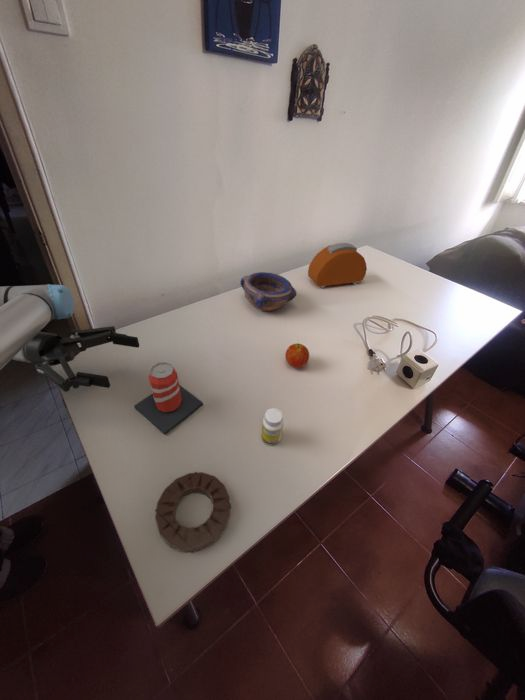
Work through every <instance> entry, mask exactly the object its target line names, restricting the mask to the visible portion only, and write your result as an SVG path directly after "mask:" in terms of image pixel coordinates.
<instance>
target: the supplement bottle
mask: <svg viewBox="0 0 525 700" xmlns="http://www.w3.org/2000/svg"><path fill="white" fill-rule="evenodd" d="M283 417H284V415H283V412H282V411H281V410H280V409H279V408H276V407H272V408H269V409H267V410H266V411H265V412H264V417H263V419H262V422H261V423H262V424H261V435H260V437H261V440H262V441H263V442H264V444H266V445H268V446H276V445H278V444H279V443H280V442H281V439H282V435H283V430H284V429H283V428H284V419H283Z"/></svg>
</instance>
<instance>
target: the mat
mask: <svg viewBox="0 0 525 700" xmlns="http://www.w3.org/2000/svg"><path fill="white" fill-rule="evenodd" d="M179 387H180V393H181V399H182V401H181V404H180V407H178V408H177V409H175V410H174V411H171V412H162V411H160V410H158V409H157V407H156V404H155V401H154V397H153V393H151V394H149V395H148V396H146V397H145V398H143V399H142V400H140V401H139V402H137V403H136V404H134V405H133V407H134V410H136V411H138V413H140V414H141V416H143V417H144V418H145V419H146V420H147V421H149V422H150V424H152V425H153V426H154V427H155V428H156V429H157V430H159V431H160V432H161V433H162V434H163V435H165V436H166V435H167V434H169V433H170V432H171V431H173V429H175V428H176V427H177V426H179V425H180V424H181V423H182V422H184V421H185V420H187V419H188V418H189V417H190V416H191V415H193V414H195V413H196V411H198V410H199V409H200V408H202V407H203V406H204V402H203V401H202V400H200V399H199V398H197V396H195V395H194V394H192V393H191V392H190V391H188V390H187V389H185V388H184V387H183V386H181V385H180V384H179Z"/></svg>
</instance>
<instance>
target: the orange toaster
mask: <svg viewBox="0 0 525 700" xmlns="http://www.w3.org/2000/svg"><path fill="white" fill-rule="evenodd" d="M357 250H358V247H356V246H354V244H351V243H347V242H338V243H335V244H331V245H328V246H325V248H322V249H321V250H319V252H317V253H316V254H315V255H314V257H312V259H311V261H310V264H309V265H308V269H307V276H308V277H309V279H310V280H311V281H312V282H313V283H314V284H315V285H316V286H317V287H319V288H321V289H325V287H329V286H337V285H344V284H345V285H346V284H352V285H357V283H360V282H362V281H363V280H364V278H365V277H366V275H367V269H368V268H367V263H366V262H367V261H366V259H365V257H364V256H363V255H362V254H360V253H359V252H358V251H357Z"/></svg>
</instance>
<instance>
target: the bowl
mask: <svg viewBox="0 0 525 700" xmlns="http://www.w3.org/2000/svg"><path fill="white" fill-rule="evenodd" d="M240 286H241V288H242V290H243V292H244V297H245V299H246V300H247V302H248V303H249V304H250V305H251V306H253V307H254V308H255V309H257V310H259V311H262V312H271V311H275V310H278V309H280V308H281V307H283V306H284V305H285V304H287V303H289V302H291V301H292V300H293V299H295V298H296V296H297V291H296V289H295V288H294V287H293V285H292V283H291V282H290V281H289V280H288V279H287V278H286V277H284V276H282V275H280V274H277V273H273V272H265V271H263V272H261V271H258V272H253V273H251V274H249V275H244V276H242V278H241V279H240Z"/></svg>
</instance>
